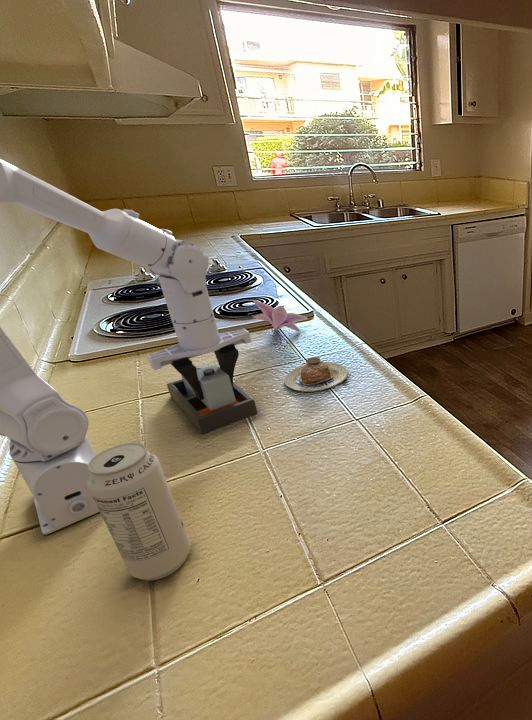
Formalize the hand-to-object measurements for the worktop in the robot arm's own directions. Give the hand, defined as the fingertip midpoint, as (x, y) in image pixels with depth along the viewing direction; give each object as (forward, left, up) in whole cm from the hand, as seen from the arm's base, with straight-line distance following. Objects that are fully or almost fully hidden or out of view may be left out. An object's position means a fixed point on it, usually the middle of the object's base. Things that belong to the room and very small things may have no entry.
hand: (215, 392), depth 78 cm
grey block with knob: (+8, 0, -4) cm, 9 cm away
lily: (+26, -23, -5) cm, 35 cm away
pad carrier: (+4, 0, -5) cm, 6 cm away
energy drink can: (-27, +16, -5) cm, 32 cm away
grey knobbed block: (0, 0, -1) cm, 1 cm away
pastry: (0, -18, -5) cm, 19 cm away
